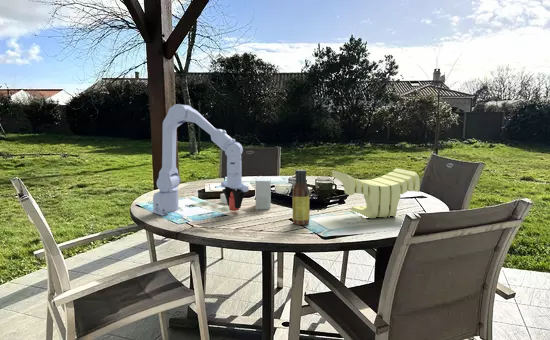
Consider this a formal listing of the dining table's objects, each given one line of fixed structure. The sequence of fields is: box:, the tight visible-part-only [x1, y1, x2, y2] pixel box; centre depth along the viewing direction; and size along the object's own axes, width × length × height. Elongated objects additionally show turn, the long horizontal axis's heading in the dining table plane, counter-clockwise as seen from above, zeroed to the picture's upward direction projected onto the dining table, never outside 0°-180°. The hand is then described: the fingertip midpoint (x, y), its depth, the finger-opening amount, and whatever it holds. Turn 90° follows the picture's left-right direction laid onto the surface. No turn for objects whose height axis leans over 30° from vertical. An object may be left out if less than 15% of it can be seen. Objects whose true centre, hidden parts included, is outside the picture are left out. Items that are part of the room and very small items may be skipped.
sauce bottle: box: [292, 169, 311, 226], centre depth 135 cm, size 6×6×20 cm
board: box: [188, 201, 248, 217], centre depth 154 cm, size 10×28×1 cm, turn 46°
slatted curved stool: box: [332, 167, 421, 219], centre depth 148 cm, size 30×16×18 cm, turn 106°
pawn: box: [228, 192, 240, 211], centre depth 146 cm, size 4×4×8 cm
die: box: [220, 193, 228, 205], centre depth 164 cm, size 5×5×5 cm
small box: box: [255, 177, 272, 210], centre depth 156 cm, size 8×6×13 cm
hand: (234, 207), depth 146 cm, fingers closed on pawn, 4 cm apart
